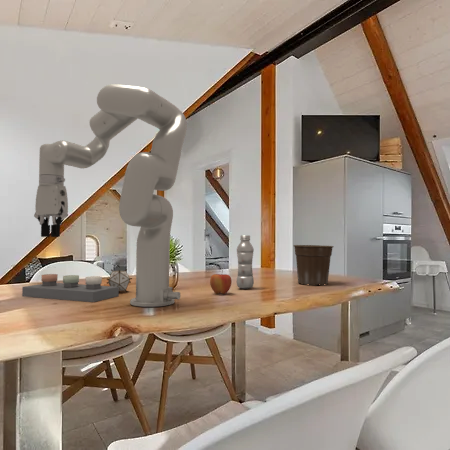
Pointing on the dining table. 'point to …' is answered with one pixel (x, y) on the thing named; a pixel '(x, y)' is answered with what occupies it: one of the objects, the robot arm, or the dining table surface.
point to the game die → (119, 280)
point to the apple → (220, 283)
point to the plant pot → (313, 263)
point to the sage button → (70, 281)
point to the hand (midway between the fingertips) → (50, 236)
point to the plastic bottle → (245, 263)
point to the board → (70, 292)
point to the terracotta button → (49, 279)
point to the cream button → (93, 282)
